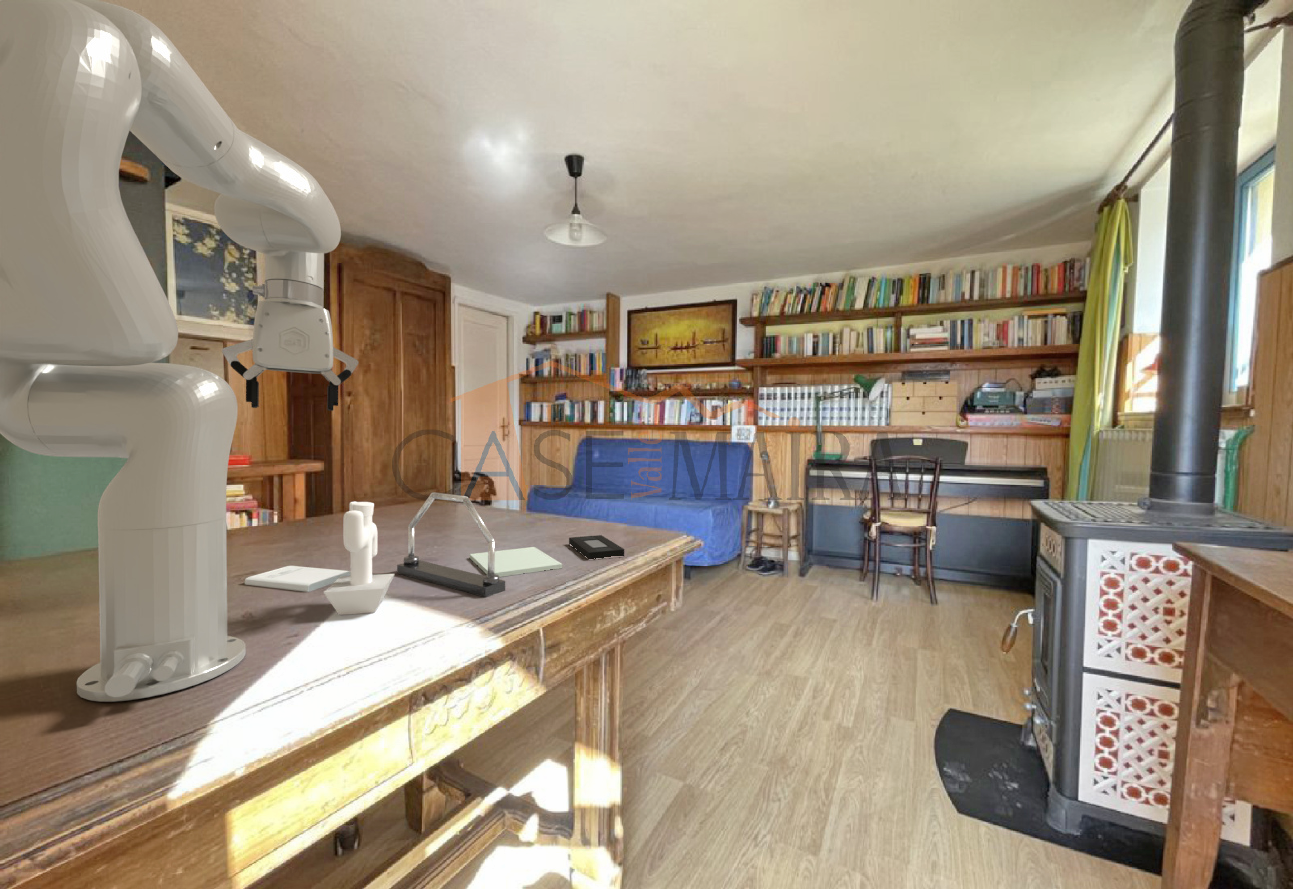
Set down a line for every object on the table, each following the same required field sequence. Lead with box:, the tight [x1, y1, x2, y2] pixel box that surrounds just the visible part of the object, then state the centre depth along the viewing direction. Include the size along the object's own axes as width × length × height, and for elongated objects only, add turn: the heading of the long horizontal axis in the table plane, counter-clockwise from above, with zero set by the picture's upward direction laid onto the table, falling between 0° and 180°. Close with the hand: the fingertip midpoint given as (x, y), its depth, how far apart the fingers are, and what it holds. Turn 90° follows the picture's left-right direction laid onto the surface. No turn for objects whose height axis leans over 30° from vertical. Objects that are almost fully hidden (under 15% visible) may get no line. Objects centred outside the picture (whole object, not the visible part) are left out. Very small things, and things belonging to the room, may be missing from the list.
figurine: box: [323, 500, 395, 616], centre depth 71 cm, size 7×9×15 cm
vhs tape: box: [568, 534, 625, 560], centre depth 107 cm, size 8×14×2 cm, turn 24°
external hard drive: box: [244, 565, 350, 593], centre depth 83 cm, size 2×8×12 cm
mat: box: [469, 546, 563, 578], centre depth 96 cm, size 15×13×1 cm
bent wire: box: [396, 492, 506, 598], centre depth 84 cm, size 22×4×14 cm, turn 59°
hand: (293, 408), depth 79 cm, fingers open, 9 cm apart
